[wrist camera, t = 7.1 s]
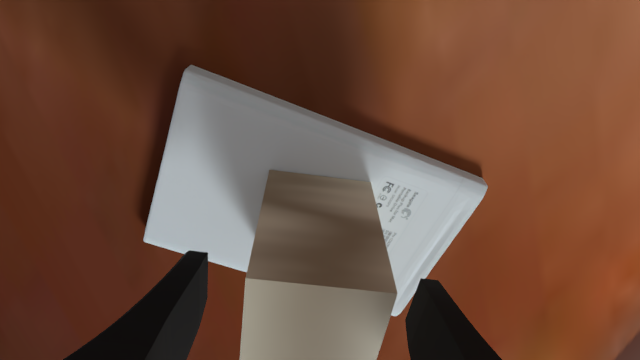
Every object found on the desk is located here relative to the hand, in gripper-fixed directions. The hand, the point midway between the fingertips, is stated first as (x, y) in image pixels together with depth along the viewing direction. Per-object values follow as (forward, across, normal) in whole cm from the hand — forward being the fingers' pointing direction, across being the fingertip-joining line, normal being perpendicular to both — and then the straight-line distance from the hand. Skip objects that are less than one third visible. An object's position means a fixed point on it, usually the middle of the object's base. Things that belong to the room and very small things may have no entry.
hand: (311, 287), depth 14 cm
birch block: (+4, 0, 0) cm, 4 cm away
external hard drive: (+6, 0, 0) cm, 6 cm away
